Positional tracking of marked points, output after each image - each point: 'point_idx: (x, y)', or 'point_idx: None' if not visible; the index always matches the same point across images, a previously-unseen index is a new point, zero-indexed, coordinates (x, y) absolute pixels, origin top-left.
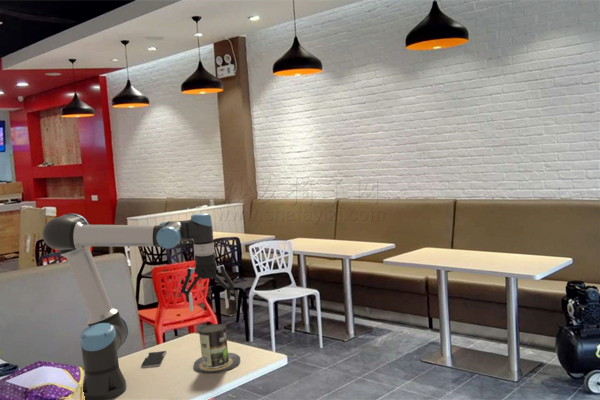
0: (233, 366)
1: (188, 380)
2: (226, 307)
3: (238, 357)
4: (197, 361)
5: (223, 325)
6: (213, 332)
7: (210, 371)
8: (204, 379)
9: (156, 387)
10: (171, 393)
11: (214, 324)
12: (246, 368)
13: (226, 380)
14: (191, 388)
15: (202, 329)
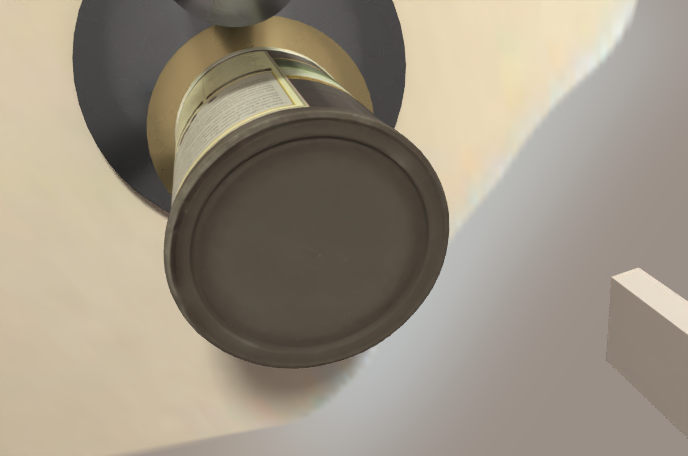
0: None
1: (180, 317)
2: (624, 368)
3: (386, 14)
4: (98, 95)
5: (414, 168)
6: (368, 348)
7: None
8: None
9: (42, 409)
10: (170, 437)
11: (291, 130)
12: (456, 145)
13: None
14: (244, 384)
15: (212, 284)
